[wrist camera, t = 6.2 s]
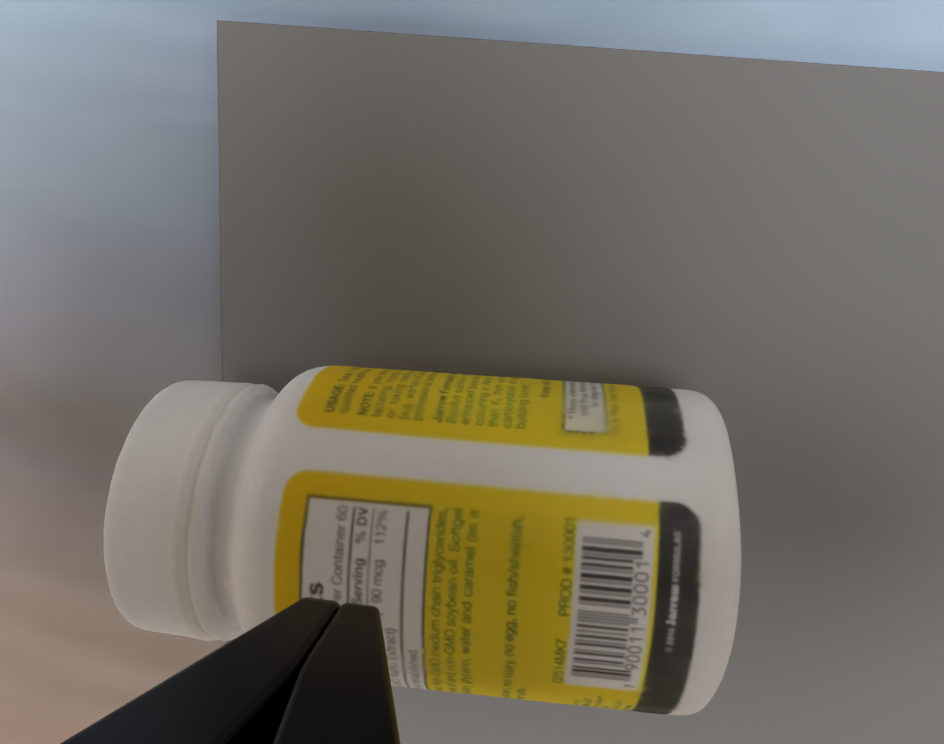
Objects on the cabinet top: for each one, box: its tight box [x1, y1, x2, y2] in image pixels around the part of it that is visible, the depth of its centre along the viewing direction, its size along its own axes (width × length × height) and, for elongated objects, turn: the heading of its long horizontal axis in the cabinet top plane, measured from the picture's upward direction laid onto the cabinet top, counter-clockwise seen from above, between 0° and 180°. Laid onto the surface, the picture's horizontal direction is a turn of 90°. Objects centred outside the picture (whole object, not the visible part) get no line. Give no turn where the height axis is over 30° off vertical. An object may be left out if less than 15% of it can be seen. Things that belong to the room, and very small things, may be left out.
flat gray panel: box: [217, 20, 944, 744], centre depth 13 cm, size 20×14×1 cm
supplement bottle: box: [104, 365, 741, 715], centre depth 11 cm, size 5×5×8 cm
